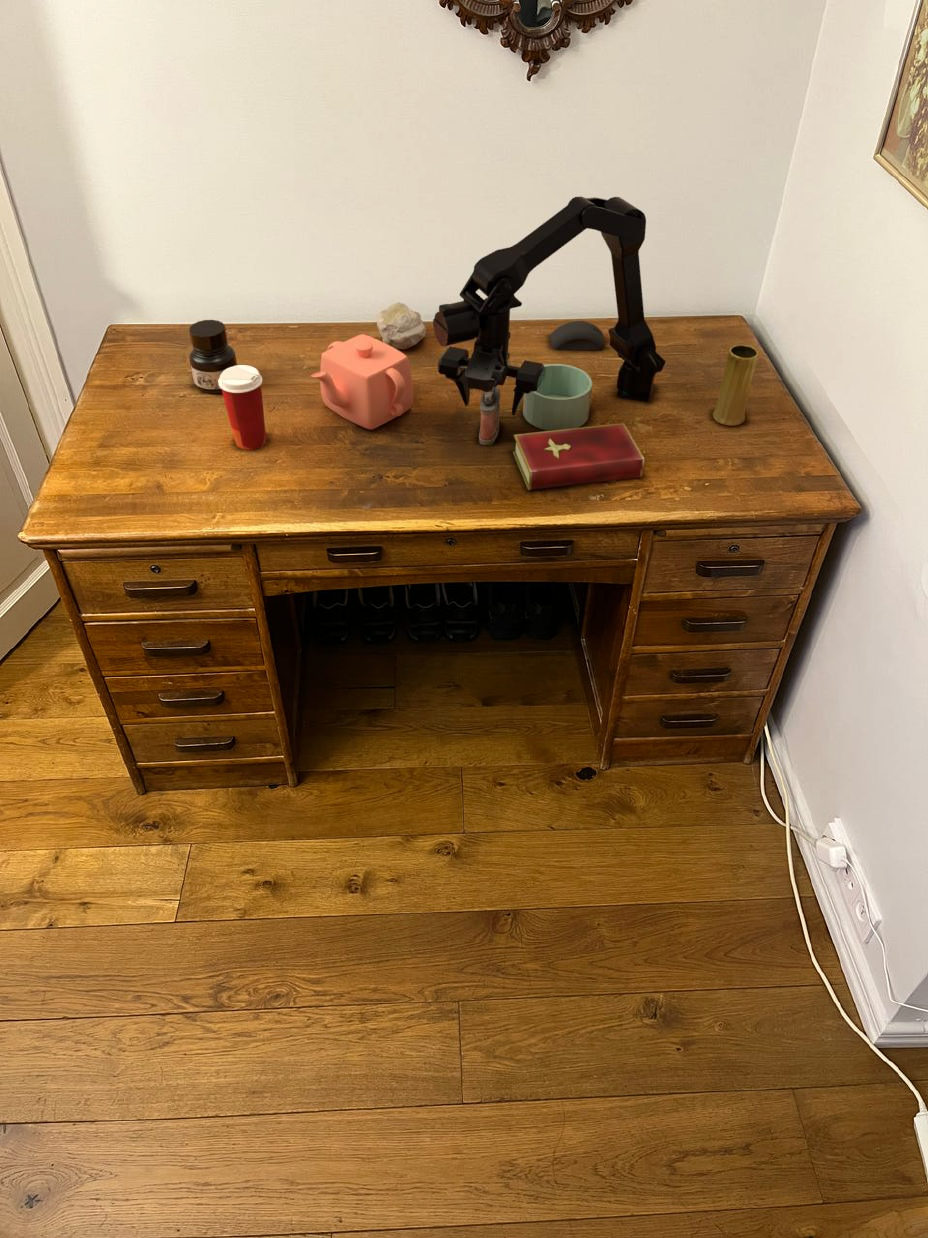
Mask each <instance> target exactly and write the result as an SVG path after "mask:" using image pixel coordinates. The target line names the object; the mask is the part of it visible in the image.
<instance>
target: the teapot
mask: <svg viewBox="0 0 928 1238" xmlns="http://www.w3.org/2000/svg"><path fill="white" fill-rule="evenodd" d="M310 377H311V378H314V379H318V380H319V385H320V388H319V389H320V396H321V398H322V401H323V403H324V405H325V406H326V407H327V408H329V409H330V410H331V411H333V412H334V413H335V414H337V415H339V416H340V417H342V418H344V419H345V420H348V421H349V422H351V423H352V424H353V423H354V424H355V425H357V426H360V427H362V428H364V429H366V430H375V429H376V428H379V427H380V426H382V425H384V424H386V423H389V422H390V421H392V420H393V419H395V418H398V417H400V416H402V415H403V414H404V413H405V412H407V411H408V410H410V409H412V408H413V405H414V399H415V396H414V395H415V393H414V392H415V390H414V382H413V381H414V380H413V376H412V370H411V366H410V363H409V357H408V356H407V355H406V354H405V353H403V352H402V351H400V350H399V349H396V348H394V347H391V346H389V345H387V344H386V343H384V342H383V341H381V340H379V339H377V338H374V337H373V336H369V335H368V334H363V333H360V334H359V335H356V336H353V337H351V338H349V339H347V340H345V341H341V340H337V341H334V342H331V343H330V344H329V346H328V347H327V350H325V351H323V352H322V353H321V360H320V369H319V371H316V372H314V373H312V374H311V375H310Z"/></svg>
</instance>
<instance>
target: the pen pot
mask: <svg viewBox="0 0 928 1238" xmlns="http://www.w3.org/2000/svg"><path fill="white" fill-rule="evenodd" d="M543 365H544V367H545V369H546V370H545V378H544V379H543V381H542V383H541V385H540V387H539V388H538V390H537V391H534V392H532V391H531V392H530V393H528V394H526V393H524V395H523V397H522V414H523V417H524V419H525V420H526V421H527V422H528V423H529V424H530V425H532V426H534V427H535V428H538V429H541V430H544V431H553V430H563V429H572V428H581V426H582V427H583V425H584V424H585V423H586V422H587V421H588V420H589V415H590V411H591V401H592V394H593V378H591V376H590V375H589V373H587V372H586V371H584V370H583V369H581V368H578V367H576V366H573V365H568V364H563V363H548V364H543Z"/></svg>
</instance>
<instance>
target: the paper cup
mask: <svg viewBox="0 0 928 1238" xmlns="http://www.w3.org/2000/svg"><path fill="white" fill-rule="evenodd" d="M218 382H219V386H220V388H221V389H222V397H223V400H224V404H225V408H226V412H227V416H228V419H229V424H230V427H231V431H232V435H233V438H234V439H233V440H234V443H235V445H236V446H237V447H238V448H239V449H242V450H246V451H250V450H252V451H253V450H256V449H259V448H261V447H262V446H263V445H265V443H266V440H267V438H266V425H265V424H266V423H265V412H264V402H263V401H264V400H263V391H262V390H263V389H262V383H263V377H262V375H261V374H260V372H259V370H258V369H257V368H255V367H254V366H251V365H247V364H237V366H233V367H230V368H227V369H226V370H224V371H223V372H222V374H221V375H220V378H219V380H218Z"/></svg>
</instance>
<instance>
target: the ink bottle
mask: <svg viewBox="0 0 928 1238" xmlns="http://www.w3.org/2000/svg"><path fill="white" fill-rule="evenodd" d="M188 331H189V336H190V342H191V346H192V348H193V349H191V351H190V353H189V355H188V356H189V364H190V369H191V374H192V380H193V383H194V386H195V388H197V389H198V390H199V391H201V392H204V393H207V394H208V393H209V394H221V393H222V394H223V392H222V389H221V388H220V386H219V382H218V380H219V378H220V375H221V374H222V372H223V371H224V370H226V369H227V368H230V367H233V366H237V365H238V362H237V356H236V355H237V354H236V350H234V348H233V347H232V346H231V345H230V344H228V341H229V340H228V337H227V329H226V325H225V324H224V322H222V321H219V320H215V319H203V320H199V321H196V322H194V323H192V324H191V326H190V327H189V330H188Z"/></svg>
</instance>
